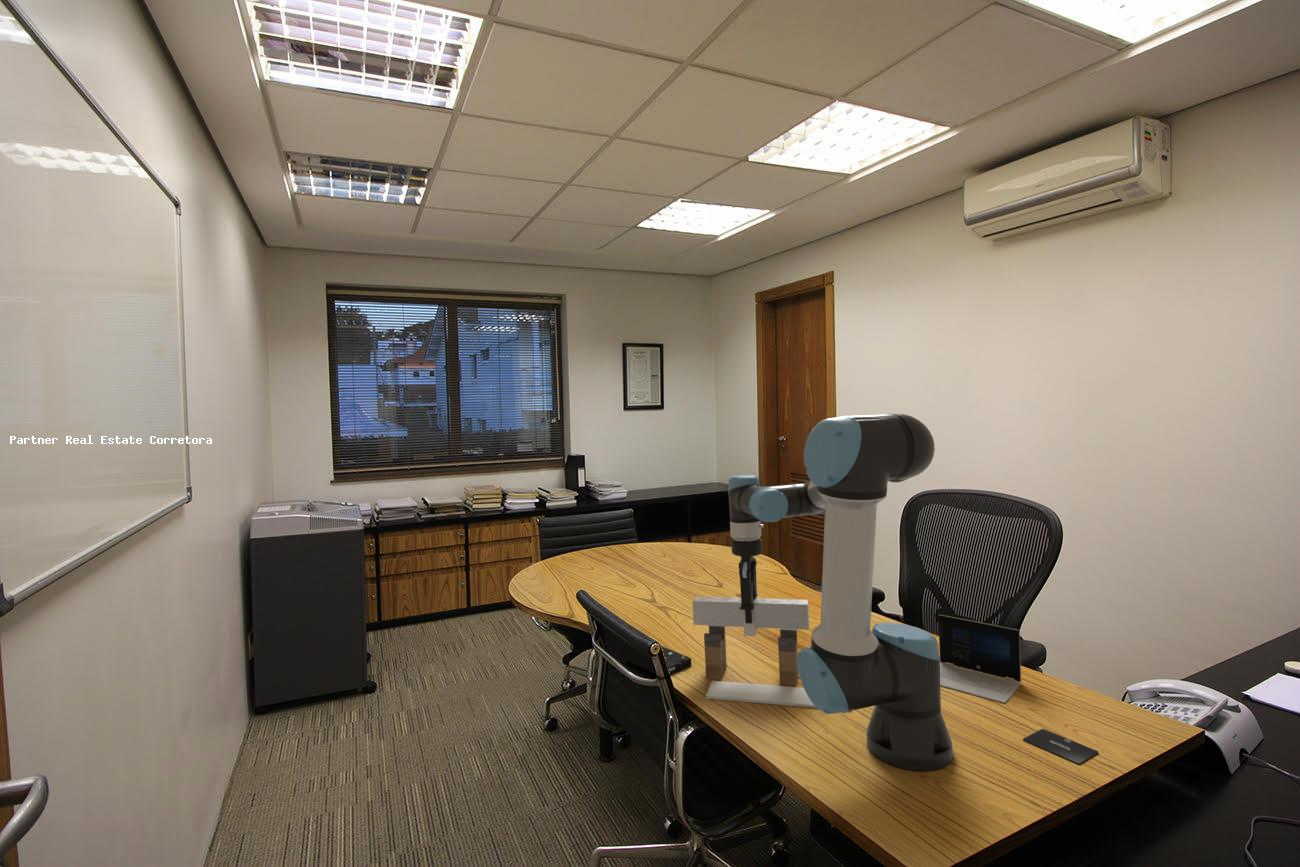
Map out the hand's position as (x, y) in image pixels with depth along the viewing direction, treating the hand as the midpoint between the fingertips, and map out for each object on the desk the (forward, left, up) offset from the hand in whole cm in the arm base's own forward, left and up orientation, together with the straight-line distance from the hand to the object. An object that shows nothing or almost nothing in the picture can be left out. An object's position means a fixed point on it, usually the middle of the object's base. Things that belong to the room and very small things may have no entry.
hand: (751, 631), depth 152 cm
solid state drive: (-20, -60, -12) cm, 64 cm away
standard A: (0, -9, -11) cm, 14 cm away
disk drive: (+3, +25, -12) cm, 28 cm away
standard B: (0, +9, -11) cm, 14 cm away
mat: (-10, -7, -11) cm, 16 cm away
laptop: (+5, -50, -12) cm, 51 cm away
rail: (0, 0, +2) cm, 2 cm away
